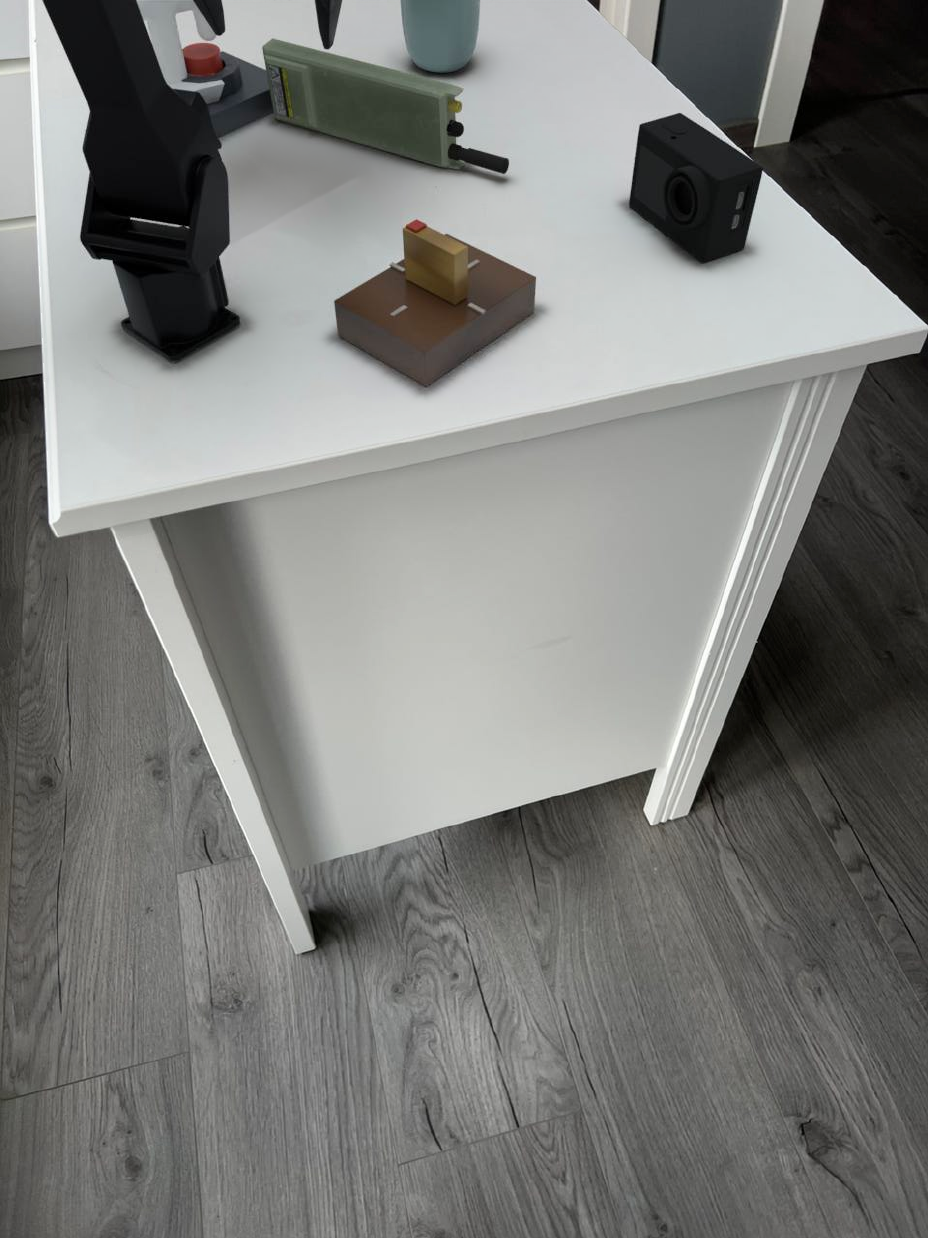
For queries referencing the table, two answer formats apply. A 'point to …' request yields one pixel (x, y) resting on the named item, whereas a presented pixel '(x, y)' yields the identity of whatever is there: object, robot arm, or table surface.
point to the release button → (202, 59)
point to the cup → (440, 32)
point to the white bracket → (177, 43)
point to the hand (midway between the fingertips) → (274, 40)
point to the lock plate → (434, 316)
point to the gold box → (435, 262)
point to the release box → (237, 94)
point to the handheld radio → (370, 105)
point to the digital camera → (694, 186)
